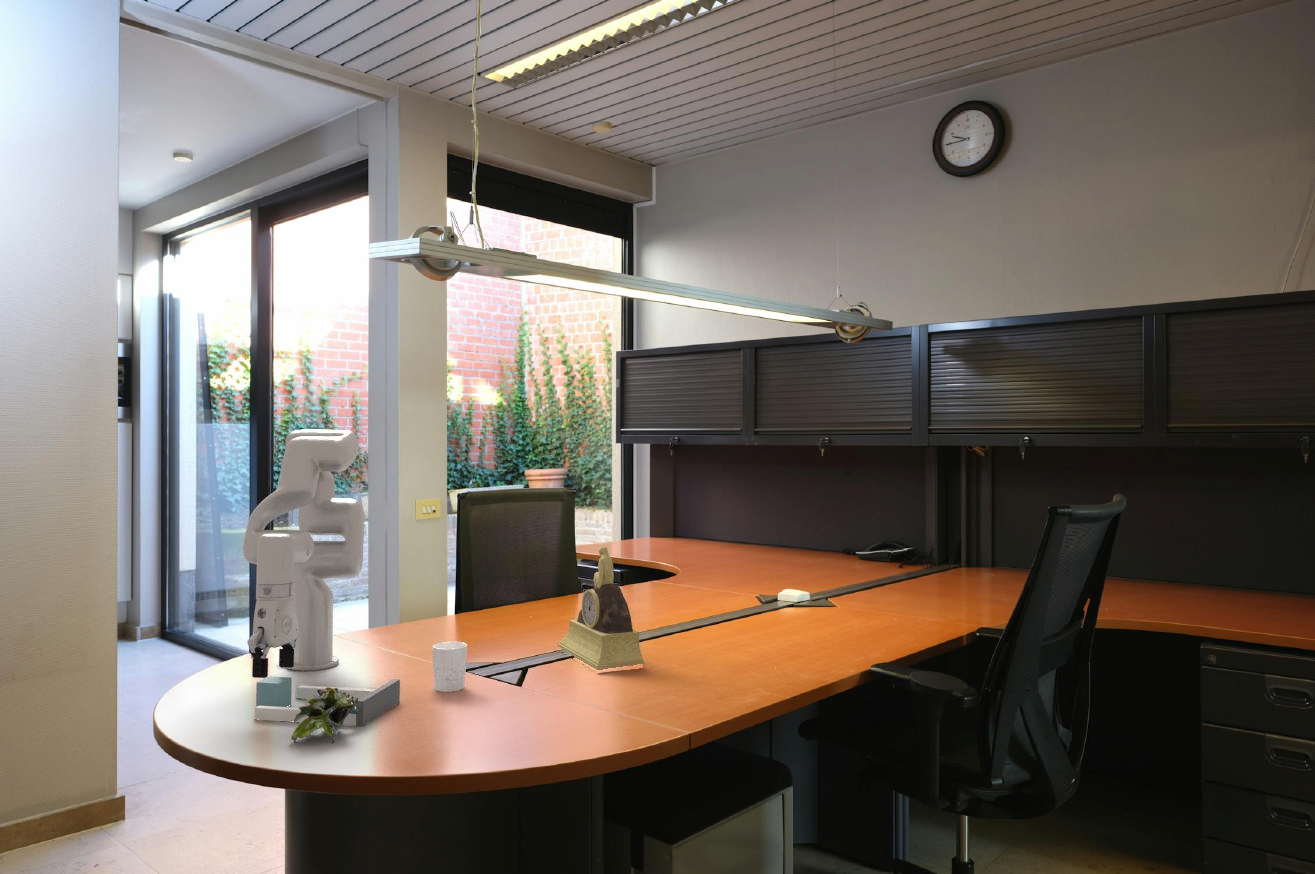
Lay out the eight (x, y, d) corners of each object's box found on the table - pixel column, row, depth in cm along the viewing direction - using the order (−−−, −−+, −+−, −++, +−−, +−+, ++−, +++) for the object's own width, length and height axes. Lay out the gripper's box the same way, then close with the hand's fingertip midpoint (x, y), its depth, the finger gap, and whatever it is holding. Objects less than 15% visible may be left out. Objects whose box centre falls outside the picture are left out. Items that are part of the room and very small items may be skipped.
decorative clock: (557, 650, 244) (558, 542, 244) (599, 646, 250) (601, 540, 250) (597, 674, 219) (598, 553, 219) (643, 669, 225) (645, 551, 225)
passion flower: (326, 759, 173) (359, 702, 179) (343, 765, 165) (377, 704, 170) (275, 734, 169) (311, 676, 174) (290, 738, 160) (326, 677, 166)
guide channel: (254, 720, 180) (254, 695, 180) (299, 696, 197) (300, 674, 197) (363, 726, 176) (363, 701, 177) (399, 702, 193) (399, 679, 193)
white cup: (432, 694, 200) (433, 650, 200) (431, 685, 207) (431, 642, 208) (467, 691, 202) (468, 648, 202) (465, 682, 210) (466, 640, 210)
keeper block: (256, 710, 186) (256, 682, 186) (269, 704, 191) (270, 676, 191) (278, 712, 186) (278, 683, 186) (291, 705, 190) (291, 677, 191)
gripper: (268, 597, 179) (266, 682, 179) (313, 586, 196) (311, 664, 196) (234, 596, 180) (232, 681, 180) (281, 585, 198) (280, 663, 197)
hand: (273, 672), depth 188 cm, fingers open, 9 cm apart
